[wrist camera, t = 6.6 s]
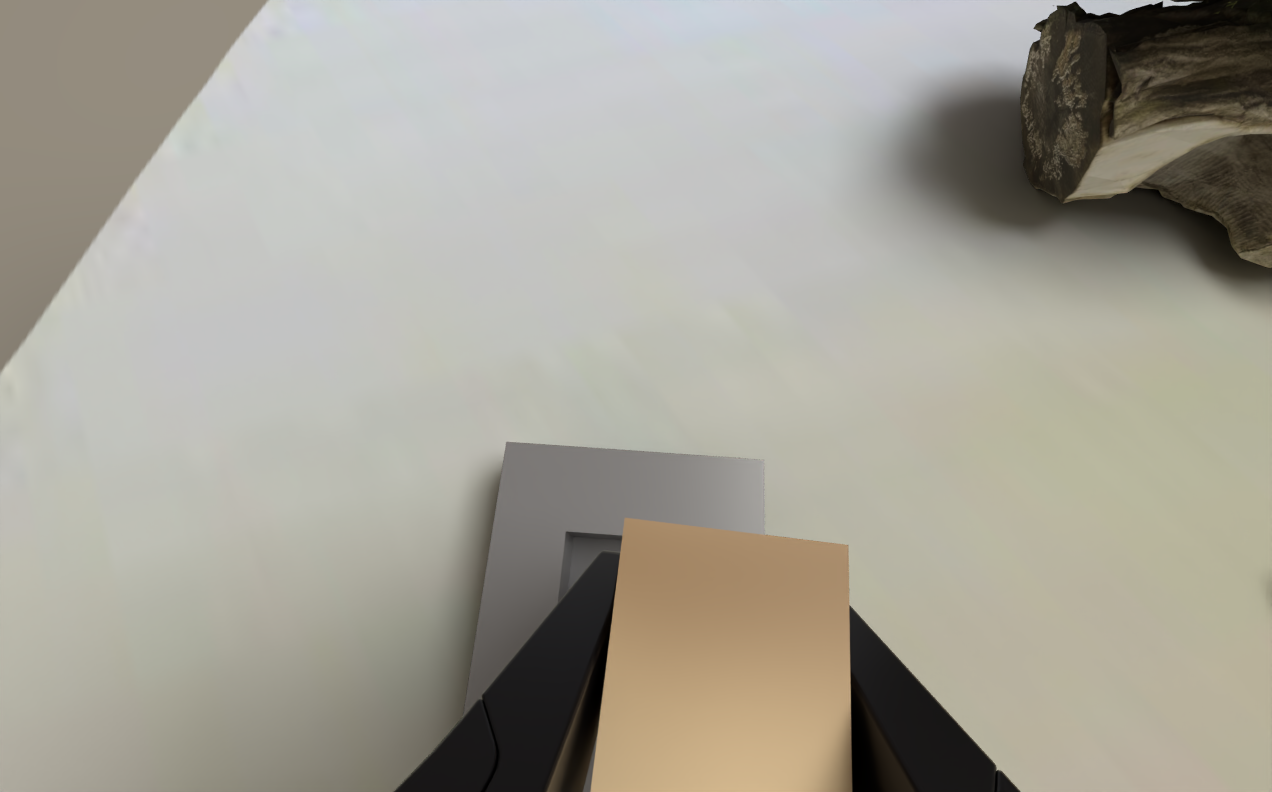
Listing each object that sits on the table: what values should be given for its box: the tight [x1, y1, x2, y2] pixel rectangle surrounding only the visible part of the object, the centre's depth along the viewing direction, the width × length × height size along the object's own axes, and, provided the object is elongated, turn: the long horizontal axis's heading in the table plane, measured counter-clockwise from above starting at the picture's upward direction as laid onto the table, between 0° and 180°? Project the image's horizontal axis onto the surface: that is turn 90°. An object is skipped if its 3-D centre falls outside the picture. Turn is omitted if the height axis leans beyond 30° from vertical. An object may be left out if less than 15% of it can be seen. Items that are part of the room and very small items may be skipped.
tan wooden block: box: [591, 518, 852, 792], centre depth 11 cm, size 4×3×10 cm
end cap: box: [463, 442, 765, 792], centre depth 20 cm, size 12×10×4 cm
